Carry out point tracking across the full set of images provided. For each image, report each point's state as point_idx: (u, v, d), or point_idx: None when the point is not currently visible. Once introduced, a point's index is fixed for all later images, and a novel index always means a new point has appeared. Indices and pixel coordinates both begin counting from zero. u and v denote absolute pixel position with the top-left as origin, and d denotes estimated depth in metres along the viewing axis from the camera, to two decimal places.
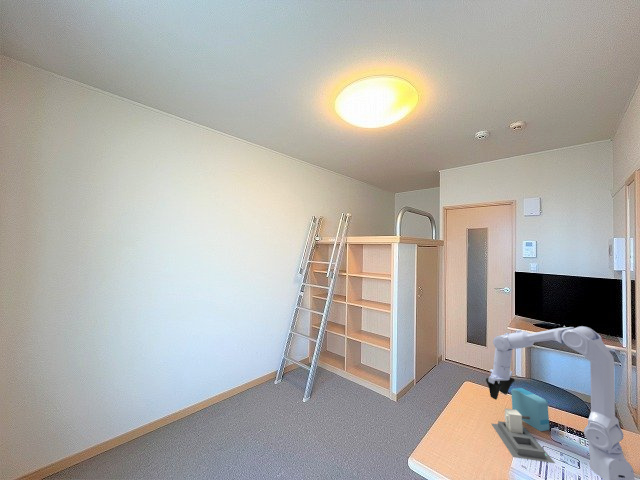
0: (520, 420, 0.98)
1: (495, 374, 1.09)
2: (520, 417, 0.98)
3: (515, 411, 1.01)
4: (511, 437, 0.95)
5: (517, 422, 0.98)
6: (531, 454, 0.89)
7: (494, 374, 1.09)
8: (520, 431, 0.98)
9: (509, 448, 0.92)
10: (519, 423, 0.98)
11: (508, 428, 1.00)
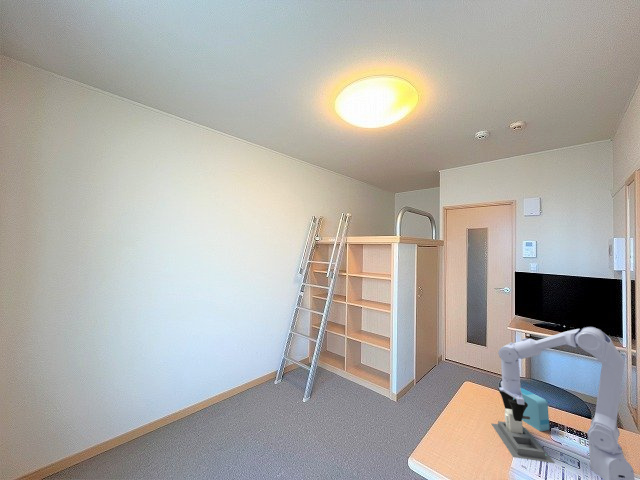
0: None
1: (512, 392, 0.99)
2: None
3: None
4: (511, 437, 0.95)
5: (517, 422, 0.98)
6: (531, 454, 0.89)
7: (511, 392, 0.99)
8: (520, 431, 0.98)
9: (509, 448, 0.92)
10: (519, 423, 0.98)
11: (508, 428, 1.00)
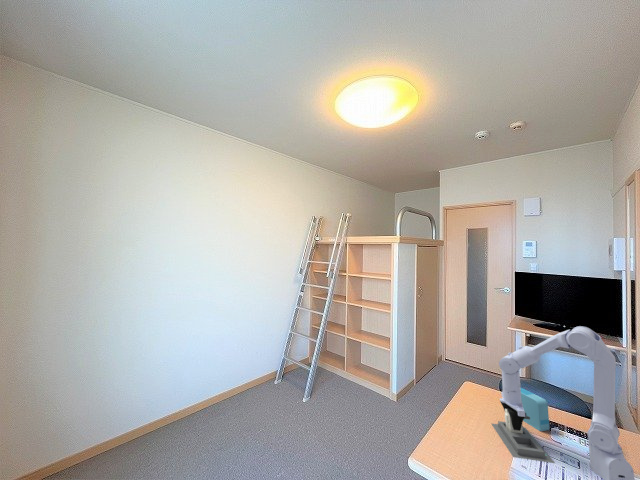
0: None
1: (513, 403, 0.99)
2: None
3: None
4: (511, 437, 0.95)
5: None
6: (531, 454, 0.89)
7: (512, 404, 0.99)
8: (520, 431, 0.98)
9: (509, 448, 0.92)
10: None
11: (508, 428, 1.00)
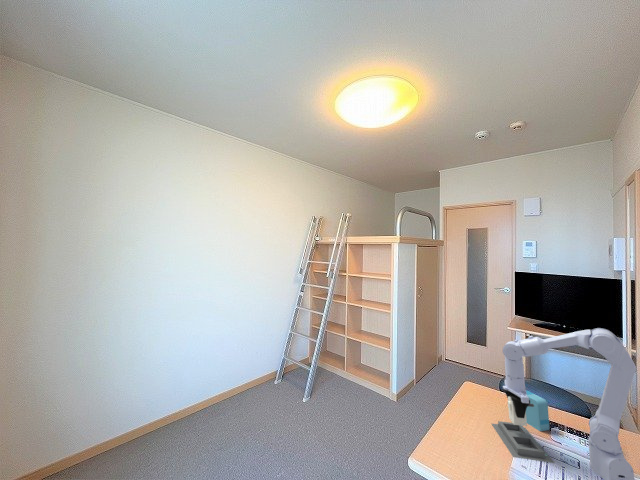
0: None
1: (517, 390, 0.96)
2: None
3: None
4: (511, 437, 0.95)
5: None
6: (531, 454, 0.89)
7: (515, 391, 0.96)
8: (524, 418, 0.95)
9: (509, 448, 0.92)
10: None
11: (511, 416, 0.98)
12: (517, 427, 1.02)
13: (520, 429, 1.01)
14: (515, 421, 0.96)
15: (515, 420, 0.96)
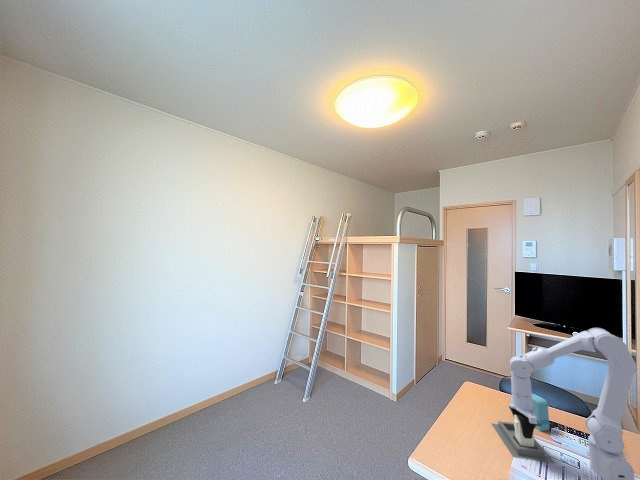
0: None
1: (524, 409, 0.91)
2: None
3: None
4: (511, 437, 0.95)
5: None
6: (531, 454, 0.89)
7: (523, 410, 0.91)
8: (531, 439, 0.90)
9: (509, 448, 0.92)
10: None
11: (518, 436, 0.93)
12: None
13: None
14: (522, 441, 0.91)
15: (522, 440, 0.91)
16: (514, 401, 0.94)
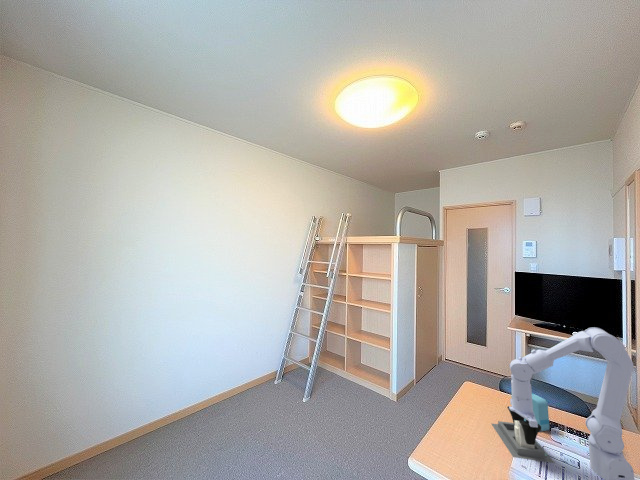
0: None
1: (524, 412, 0.91)
2: None
3: None
4: (511, 437, 0.95)
5: None
6: (531, 454, 0.89)
7: (523, 413, 0.91)
8: (532, 445, 0.90)
9: (509, 448, 0.92)
10: None
11: (518, 442, 0.93)
12: None
13: None
14: None
15: None
16: (514, 404, 0.93)
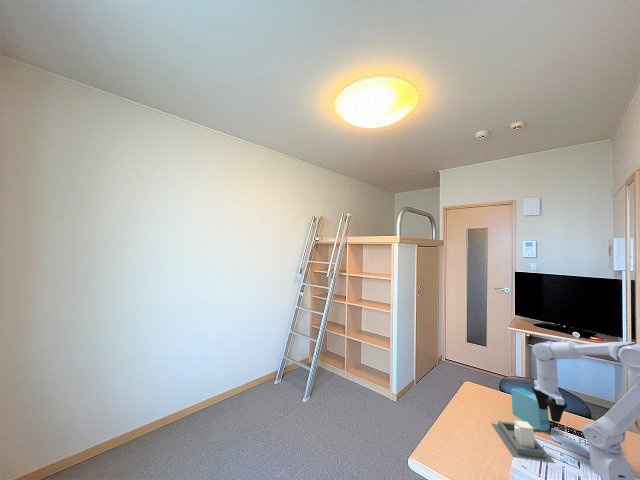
0: (531, 433, 0.91)
1: (550, 391, 0.94)
2: (531, 430, 0.91)
3: (526, 423, 0.93)
4: (511, 437, 0.95)
5: (528, 436, 0.91)
6: (531, 454, 0.89)
7: (549, 392, 0.94)
8: (532, 445, 0.90)
9: (509, 448, 0.92)
10: (530, 436, 0.91)
11: (518, 442, 0.93)
12: None
13: None
14: None
15: None
16: (540, 384, 0.97)
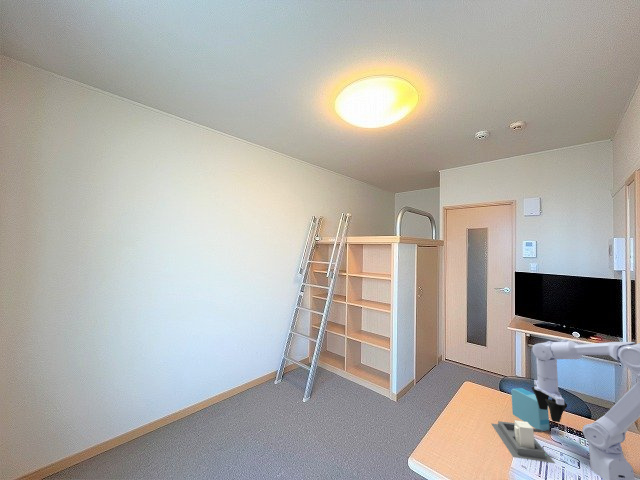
0: (531, 433, 0.91)
1: (550, 391, 0.94)
2: (531, 430, 0.91)
3: (526, 423, 0.93)
4: (511, 437, 0.95)
5: (528, 436, 0.91)
6: (531, 454, 0.89)
7: (549, 392, 0.94)
8: (532, 445, 0.90)
9: (509, 448, 0.92)
10: (530, 436, 0.91)
11: (518, 442, 0.93)
12: None
13: None
14: None
15: None
16: (540, 384, 0.97)
